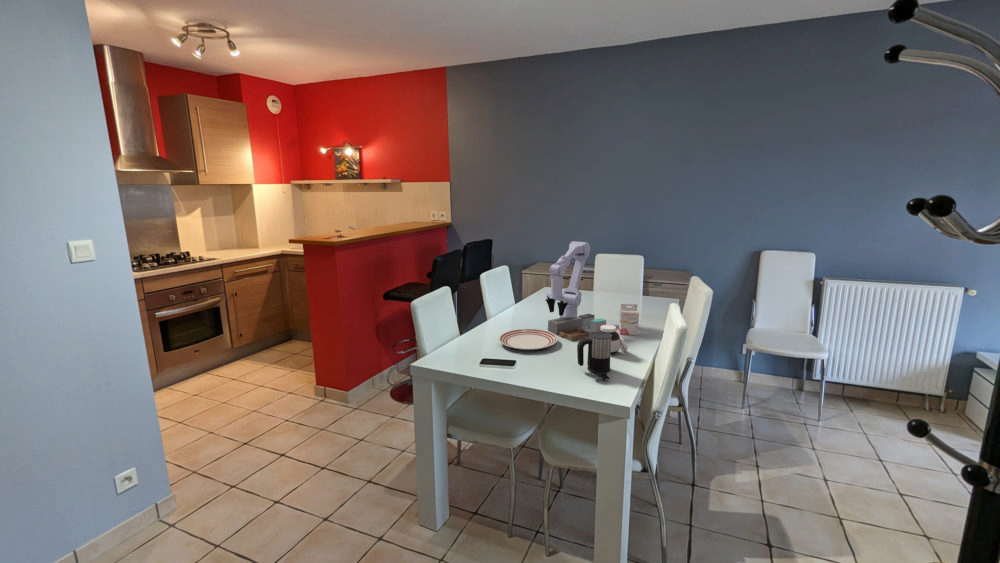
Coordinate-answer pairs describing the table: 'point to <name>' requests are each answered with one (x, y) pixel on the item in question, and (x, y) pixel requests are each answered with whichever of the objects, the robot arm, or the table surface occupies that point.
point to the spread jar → (614, 339)
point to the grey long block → (564, 324)
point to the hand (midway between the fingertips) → (556, 313)
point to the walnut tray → (574, 334)
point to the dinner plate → (528, 339)
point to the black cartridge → (587, 319)
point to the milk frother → (596, 353)
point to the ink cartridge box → (629, 319)
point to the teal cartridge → (596, 324)
